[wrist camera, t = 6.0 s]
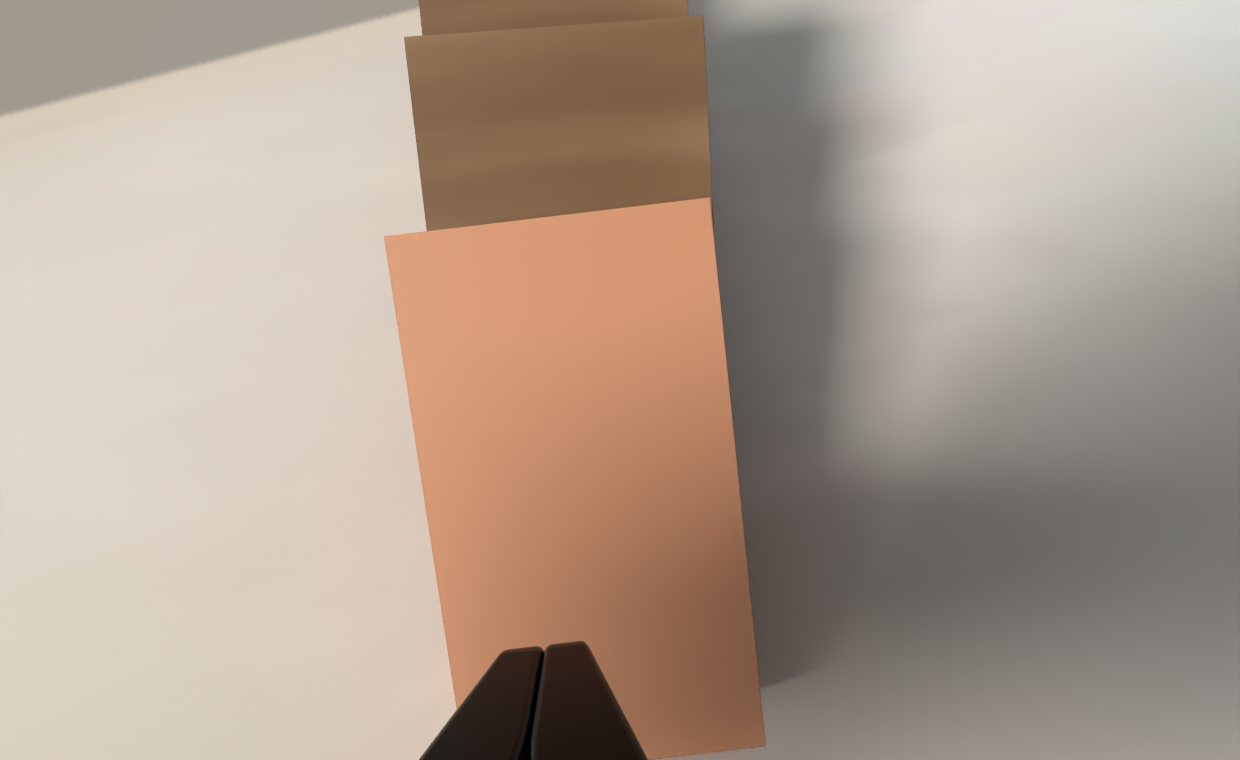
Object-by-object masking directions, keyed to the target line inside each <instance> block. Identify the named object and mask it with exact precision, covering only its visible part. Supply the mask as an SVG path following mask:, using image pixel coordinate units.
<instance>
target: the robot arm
mask: <svg viewBox="0 0 1240 760" xmlns="http://www.w3.org/2000/svg"><path fill="white" fill-rule="evenodd" d="M419 760H648V759H647V757H646V755H645V753H644V751H643V749H642V747H641V745H640V743H639V741H638V739H637V738H636V736H635V734H634V732H633V730H632V728H631V726H630V724H629V722H628V720H627V719H626V717H625V715H624V713H623V711H622V709H621V707H620V705H619V703H618V701H617V699H616V698H615V696H614V694H613V692H612V690H611V688H610V686H609V684H608V682H607V680H606V678H605V677H604V675H603V673H602V671H601V669H600V667H599V665H598V663H597V661H596V659H595V657H594V656H593V654H592V652H591V650H590V648H589V646H588V645H587V644H586V643H585V642H583V641H573V642H565V643H556V644H550V645H549V646H547V647H546V649H545V651H544V650H543V649H542V648H541V647H540V646H531V647H523V648H514V649H507V650H504V651H503V652H501V653H500V654H499V655H498V656H497V658H496V659H495V660H494V662H493V663H492V664H491V665H490V667H489V668H488V669H487V671H486V672H485V673H484V675H483V676H482V677H481V679H480V680H479V681H478V683H477V684H476V685H475V687H474V688H473V689H472V691H471V692H470V693H469V694H468V696H467V697H466V698H465V700H464V701H463V702H462V704H461V705H460V706H459V708H458V709H457V710H456V712H455V713H454V714H453V716H452V717H451V718H450V719H449V721H448V722H447V723H446V725H445V726H444V727H443V729H442V730H441V731H440V733H439V734H438V735H437V737H436V738H435V739H434V741H433V742H432V743H431V744H430V746H429V747H428V748H427V750H426V751H425V752H424V754H423V755H422V756H421V758H420V759H419Z"/></svg>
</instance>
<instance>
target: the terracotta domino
mask: <svg viewBox="0 0 1240 760" xmlns="http://www.w3.org/2000/svg"><path fill="white" fill-rule="evenodd" d="M384 240H385V246H386V253H387V259H388V266H389V272H390V279H391V285H392V292H393V298H394V305H395V311H396V318H397V324H398V331H399V337H400V344H401V350H402V357H403V363H404V370H405V376H406V383H407V389H408V396H409V402H410V409H411V415H412V422H413V428H414V435H415V441H416V448H417V454H418V461H419V467H420V473H421V480H422V486H423V493H424V499H425V506H426V512H427V519H428V525H429V532H430V538H431V545H432V551H433V558H434V564H435V571H436V577H437V584H438V590H439V597H440V603H441V610H442V616H443V623H444V629H445V636H446V642H447V649H448V655H449V662H450V668H451V675H452V681H453V688H454V694H455V701H456V707H457V709H458V708H459V706H460V705H461V704H462V702H463V701H464V700H465V698H466V697H467V696H468V694H469V693H470V692H471V691H472V689H473V688H474V687H475V685H476V684H477V683H478V681H479V680H480V679H481V677H482V676H483V675H484V673H485V672H486V671H487V669H488V668H489V667H490V665H491V664H492V663H493V662H494V660H495V659H496V658H497V656H498V655H499V654H500V653H501V652H503V651H504V650H507V649H514V648H523V647H531V646H540V647H541V648H542V649H543V650H544V651H545V649H546V647H547V646H549V645H550V644H556V643H565V642H573V641H583V642H585V643H586V644H587V645H588V646H589V648H590V650H591V652H592V654H593V656H594V657H595V659H596V661H597V663H598V665H599V667H600V669H601V671H602V673H603V675H604V677H605V678H606V680H607V682H608V684H609V686H610V688H611V690H612V692H613V694H614V696H615V698H616V699H617V701H618V703H619V705H620V707H621V709H622V711H623V713H624V715H625V717H626V719H627V720H628V722H629V724H630V726H631V728H632V730H633V732H634V734H635V736H636V738H637V739H638V741H639V743H640V745H641V747H642V749H643V751H644V753H645V755H646V757H647V759H648V760H652V759H661V758H669V757H678V756H686V755H695V754H703V753H711V752H720V751H728V750H737V749H745V748H754V747H762V746H766V743H765V734H764V724H763V714H762V704H761V694H760V685H759V675H758V665H757V655H756V646H755V636H754V626H753V616H752V606H751V597H750V587H749V577H748V567H747V558H746V548H745V538H744V528H743V518H742V509H741V499H740V489H739V479H738V470H737V460H736V450H735V440H734V430H733V421H732V411H731V401H730V391H729V382H728V372H727V362H726V352H725V342H724V333H723V323H722V313H721V303H720V293H719V284H718V274H717V264H716V254H715V245H714V235H713V225H712V215H711V205H710V197H709V198H701V199H693V200H684V201H676V202H668V203H659V204H651V205H643V206H634V207H626V208H618V209H609V210H601V211H593V212H584V213H576V214H568V215H559V216H551V217H542V218H534V219H526V220H517V221H509V222H501V223H492V224H484V225H476V226H467V227H459V228H451V229H442V230H434V231H426V232H417V233H409V234H401V235H392V236H384Z"/></svg>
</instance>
